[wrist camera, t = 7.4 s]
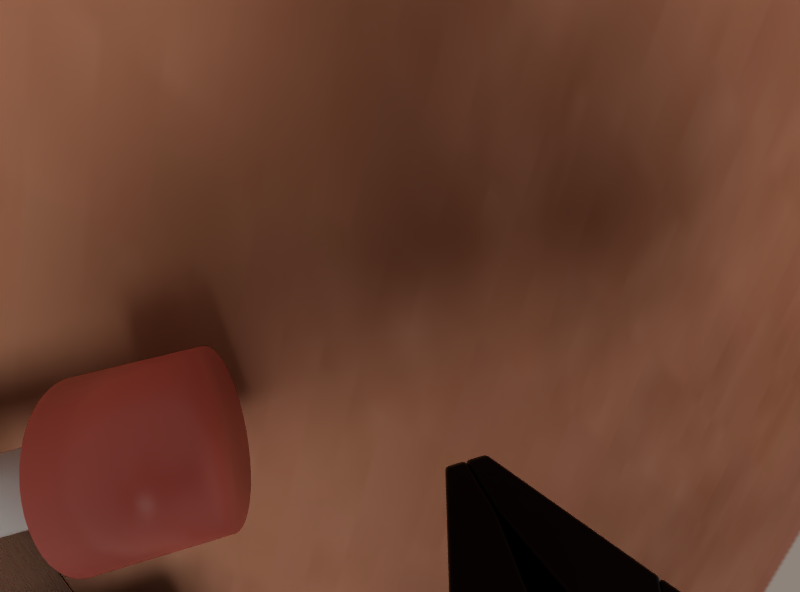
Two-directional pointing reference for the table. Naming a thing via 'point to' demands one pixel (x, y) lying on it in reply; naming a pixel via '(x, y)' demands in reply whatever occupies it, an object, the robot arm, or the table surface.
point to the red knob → (130, 464)
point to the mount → (26, 567)
